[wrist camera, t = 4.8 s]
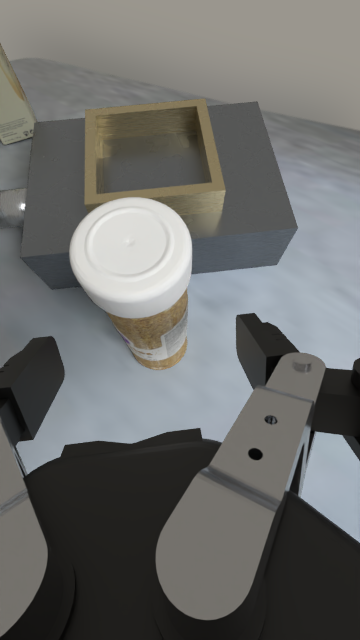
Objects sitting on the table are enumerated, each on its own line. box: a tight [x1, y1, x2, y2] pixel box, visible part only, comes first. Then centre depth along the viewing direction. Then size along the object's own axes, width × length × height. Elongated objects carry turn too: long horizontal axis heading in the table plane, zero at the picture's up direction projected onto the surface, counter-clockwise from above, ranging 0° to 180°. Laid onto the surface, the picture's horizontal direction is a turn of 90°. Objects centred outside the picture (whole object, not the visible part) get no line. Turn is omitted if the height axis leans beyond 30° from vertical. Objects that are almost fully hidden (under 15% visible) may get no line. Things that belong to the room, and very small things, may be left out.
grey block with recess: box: [0, 99, 298, 289], centre depth 24 cm, size 24×14×7 cm, turn 97°
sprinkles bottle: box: [69, 197, 192, 370], centre depth 16 cm, size 5×5×14 cm
